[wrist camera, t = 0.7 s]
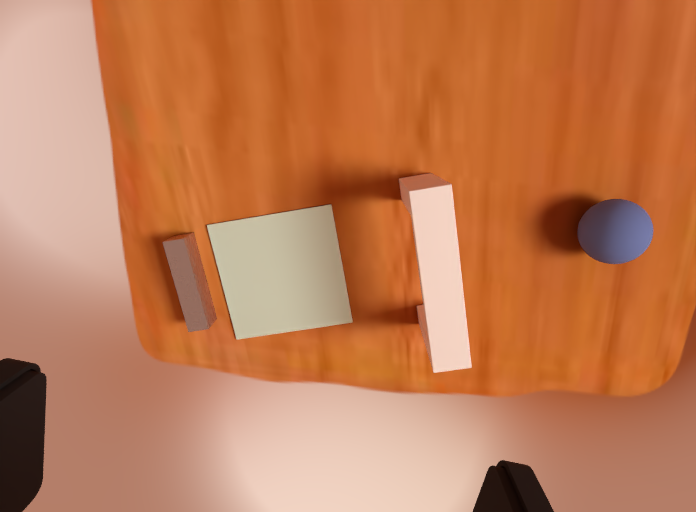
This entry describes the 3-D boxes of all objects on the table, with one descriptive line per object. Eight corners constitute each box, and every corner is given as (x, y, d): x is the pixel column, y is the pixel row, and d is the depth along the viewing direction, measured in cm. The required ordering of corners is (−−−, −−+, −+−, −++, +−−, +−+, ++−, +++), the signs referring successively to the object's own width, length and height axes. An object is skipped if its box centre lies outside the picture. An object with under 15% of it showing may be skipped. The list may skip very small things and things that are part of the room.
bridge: (419, 324, 44) (433, 372, 35) (398, 178, 40) (409, 191, 31) (449, 319, 44) (471, 367, 35) (431, 172, 40) (451, 184, 31)
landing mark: (207, 224, 42) (206, 225, 42) (331, 204, 41) (331, 204, 41) (237, 338, 45) (236, 339, 45) (352, 321, 44) (352, 322, 44)
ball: (565, 200, 40) (596, 210, 35) (628, 190, 40) (669, 199, 35) (567, 258, 42) (598, 277, 36) (628, 249, 41) (668, 266, 36)
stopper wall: (173, 235, 42) (162, 241, 40) (193, 232, 42) (183, 238, 40) (197, 321, 45) (188, 332, 42) (216, 318, 45) (208, 328, 42)
